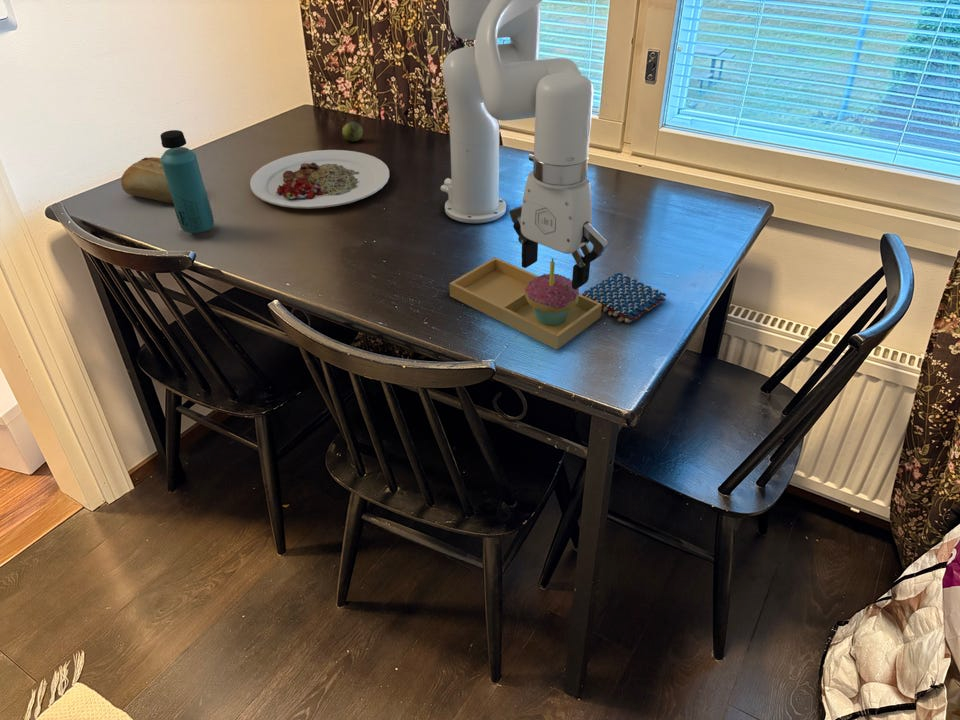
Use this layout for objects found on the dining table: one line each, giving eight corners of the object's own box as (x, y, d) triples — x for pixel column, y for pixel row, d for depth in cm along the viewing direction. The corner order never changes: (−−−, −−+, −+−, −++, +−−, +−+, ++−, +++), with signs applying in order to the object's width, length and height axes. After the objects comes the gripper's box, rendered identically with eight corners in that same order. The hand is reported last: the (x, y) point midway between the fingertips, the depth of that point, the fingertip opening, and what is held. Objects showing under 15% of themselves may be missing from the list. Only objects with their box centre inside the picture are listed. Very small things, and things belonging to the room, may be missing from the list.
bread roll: (143, 184, 158) (132, 149, 153) (203, 191, 155) (193, 155, 150) (115, 202, 151) (102, 166, 146) (177, 210, 148) (166, 173, 143)
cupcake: (573, 335, 112) (579, 268, 104) (520, 329, 113) (522, 263, 106) (578, 305, 118) (585, 240, 111) (528, 300, 120) (530, 235, 112)
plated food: (405, 161, 167) (404, 147, 165) (367, 220, 144) (365, 204, 142) (283, 153, 171) (281, 140, 169) (227, 209, 148) (223, 194, 146)
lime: (340, 142, 177) (338, 122, 174) (355, 136, 180) (353, 117, 177) (352, 146, 175) (350, 126, 171) (367, 141, 177) (365, 121, 174)
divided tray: (449, 296, 121) (449, 283, 120) (495, 269, 128) (495, 256, 127) (556, 350, 109) (558, 336, 108) (600, 317, 116) (602, 304, 115)
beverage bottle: (223, 227, 142) (198, 128, 129) (203, 243, 137) (174, 141, 124) (195, 222, 143) (168, 124, 131) (174, 238, 138) (144, 136, 126)
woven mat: (616, 278, 126) (618, 268, 124) (667, 302, 119) (669, 292, 118) (577, 301, 120) (578, 290, 119) (628, 327, 114) (630, 317, 113)
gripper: (495, 160, 102) (495, 265, 113) (596, 194, 93) (585, 304, 103) (528, 146, 107) (525, 248, 117) (627, 176, 98) (614, 284, 108)
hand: (553, 274), depth 110 cm, fingers open, 9 cm apart
